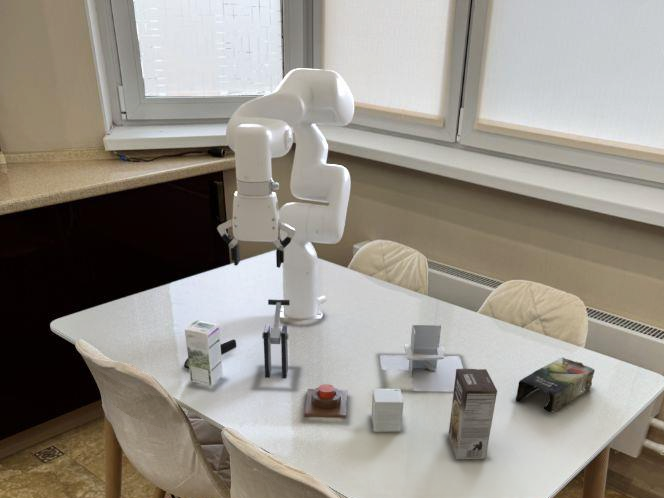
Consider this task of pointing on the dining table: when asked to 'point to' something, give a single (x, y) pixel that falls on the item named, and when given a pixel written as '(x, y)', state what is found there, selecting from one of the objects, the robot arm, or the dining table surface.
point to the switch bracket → (268, 350)
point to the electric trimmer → (224, 348)
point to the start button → (326, 391)
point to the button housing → (326, 404)
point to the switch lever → (277, 320)
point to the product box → (387, 410)
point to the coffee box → (471, 413)
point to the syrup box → (204, 352)
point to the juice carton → (558, 382)
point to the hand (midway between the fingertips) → (258, 264)
